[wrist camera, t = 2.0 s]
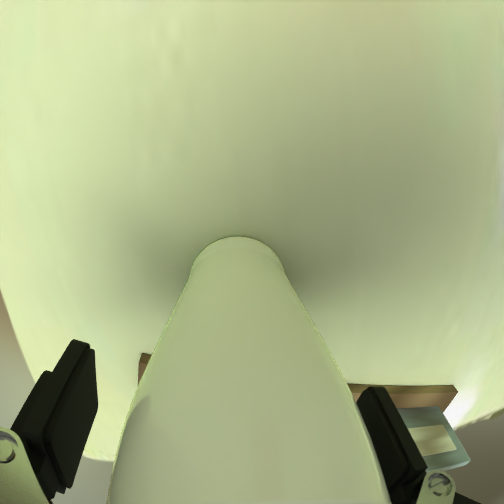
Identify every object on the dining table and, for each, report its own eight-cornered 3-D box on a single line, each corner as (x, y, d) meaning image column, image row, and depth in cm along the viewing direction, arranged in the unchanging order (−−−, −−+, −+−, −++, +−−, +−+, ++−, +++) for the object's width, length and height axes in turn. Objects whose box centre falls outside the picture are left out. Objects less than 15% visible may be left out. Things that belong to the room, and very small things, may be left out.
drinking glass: (289, 327, 20) (348, 564, 6) (180, 324, 20) (135, 567, 6) (302, 223, 18) (457, 469, 4) (177, 217, 17) (45, 477, 3)
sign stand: (453, 385, 24) (493, 443, 17) (432, 414, 25) (465, 472, 18) (142, 353, 20) (112, 446, 13) (140, 392, 22) (116, 478, 14)
